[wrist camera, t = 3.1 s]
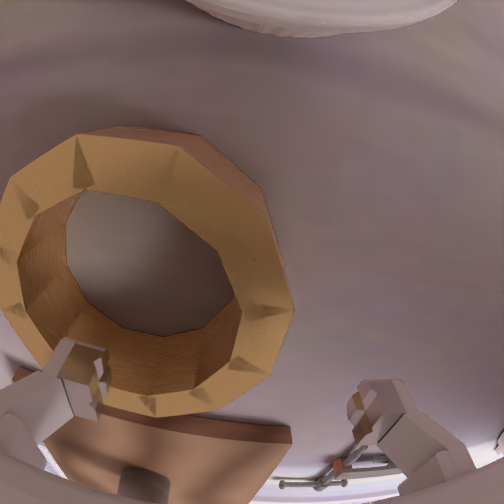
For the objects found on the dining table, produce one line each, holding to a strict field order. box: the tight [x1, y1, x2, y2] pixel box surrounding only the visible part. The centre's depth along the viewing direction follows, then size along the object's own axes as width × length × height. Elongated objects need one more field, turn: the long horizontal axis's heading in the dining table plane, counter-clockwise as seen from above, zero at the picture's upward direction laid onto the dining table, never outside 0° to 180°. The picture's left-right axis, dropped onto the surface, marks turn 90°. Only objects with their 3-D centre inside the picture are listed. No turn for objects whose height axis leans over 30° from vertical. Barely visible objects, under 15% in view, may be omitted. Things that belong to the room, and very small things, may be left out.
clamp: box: [279, 445, 403, 491], centre depth 22 cm, size 15×2×10 cm
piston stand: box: [12, 366, 292, 504], centre depth 18 cm, size 20×20×8 cm
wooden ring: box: [0, 125, 295, 418], centre depth 12 cm, size 12×12×4 cm
